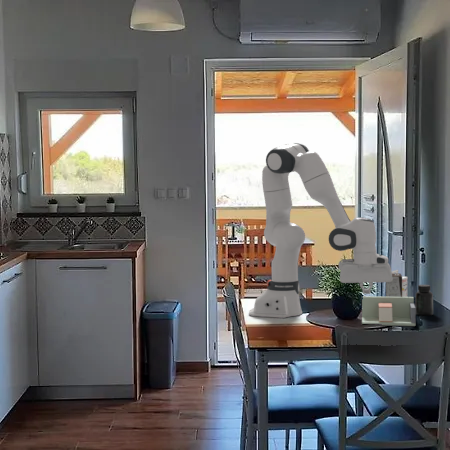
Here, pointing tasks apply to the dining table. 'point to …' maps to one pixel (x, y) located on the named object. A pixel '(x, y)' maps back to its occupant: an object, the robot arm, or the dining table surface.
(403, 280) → the ink cartridge box
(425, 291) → the supplement bottle
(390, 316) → the beige box
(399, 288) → the coffee box
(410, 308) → the pale green storage bin
